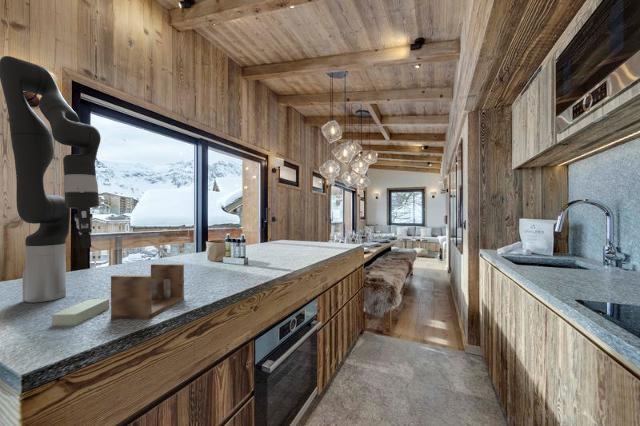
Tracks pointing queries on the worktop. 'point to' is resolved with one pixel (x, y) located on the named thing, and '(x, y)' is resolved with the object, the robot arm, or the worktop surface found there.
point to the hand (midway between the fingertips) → (85, 246)
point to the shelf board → (80, 312)
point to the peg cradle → (147, 292)
